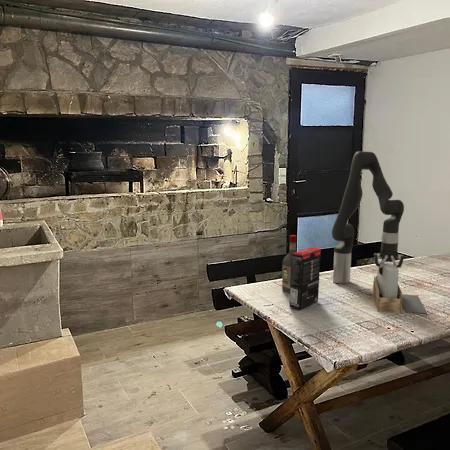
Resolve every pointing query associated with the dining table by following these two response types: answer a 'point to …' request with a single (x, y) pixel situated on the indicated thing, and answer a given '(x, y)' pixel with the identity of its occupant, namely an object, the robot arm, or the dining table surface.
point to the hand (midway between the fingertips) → (387, 274)
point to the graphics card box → (304, 278)
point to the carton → (387, 300)
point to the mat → (413, 304)
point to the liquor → (288, 265)
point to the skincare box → (388, 280)
